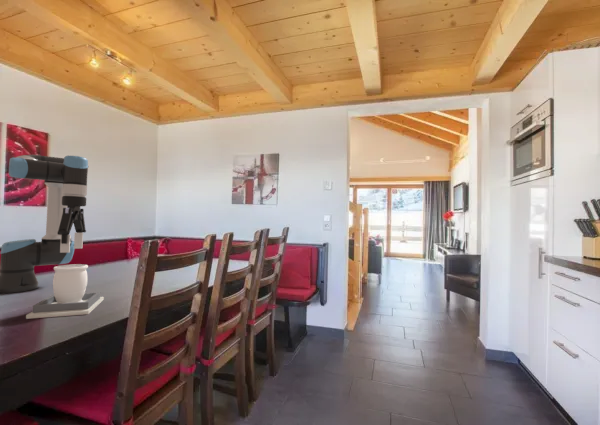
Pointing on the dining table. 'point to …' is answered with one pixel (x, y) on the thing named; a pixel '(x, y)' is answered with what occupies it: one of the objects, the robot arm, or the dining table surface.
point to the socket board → (65, 306)
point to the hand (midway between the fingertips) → (71, 250)
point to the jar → (70, 283)
